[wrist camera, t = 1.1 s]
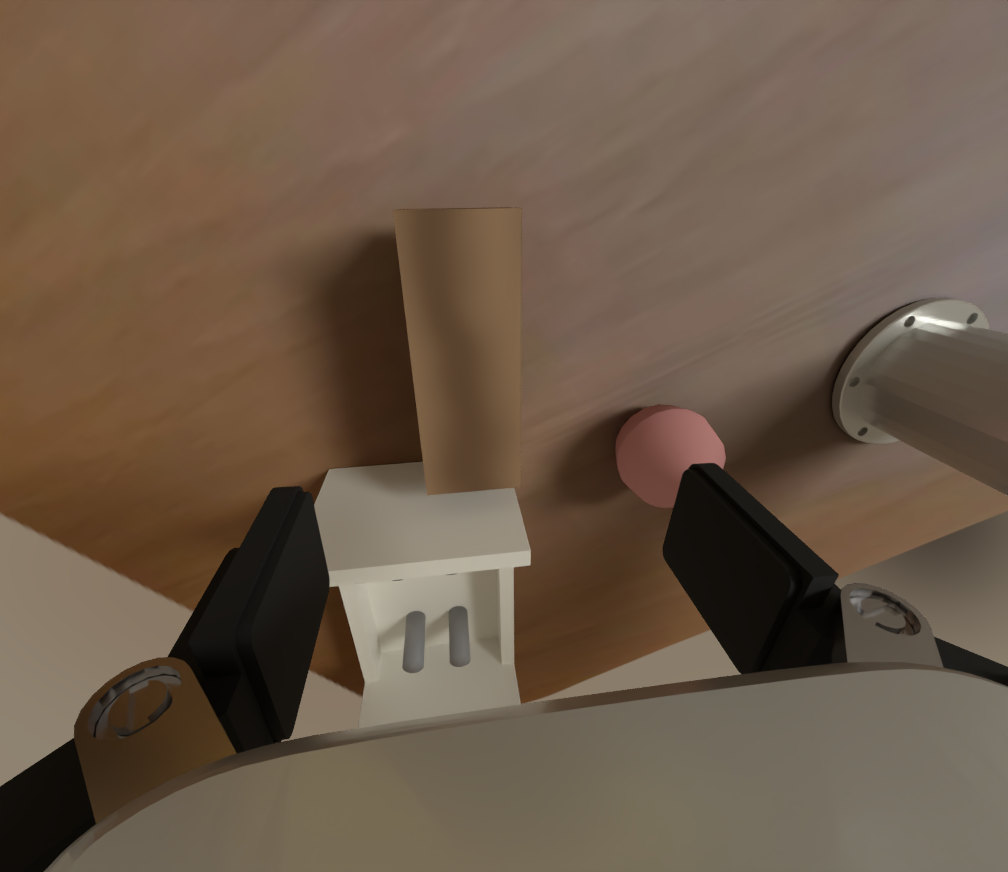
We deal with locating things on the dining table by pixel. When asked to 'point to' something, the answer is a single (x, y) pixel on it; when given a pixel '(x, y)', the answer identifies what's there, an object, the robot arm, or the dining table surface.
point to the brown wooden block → (464, 342)
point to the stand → (424, 589)
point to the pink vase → (664, 451)
